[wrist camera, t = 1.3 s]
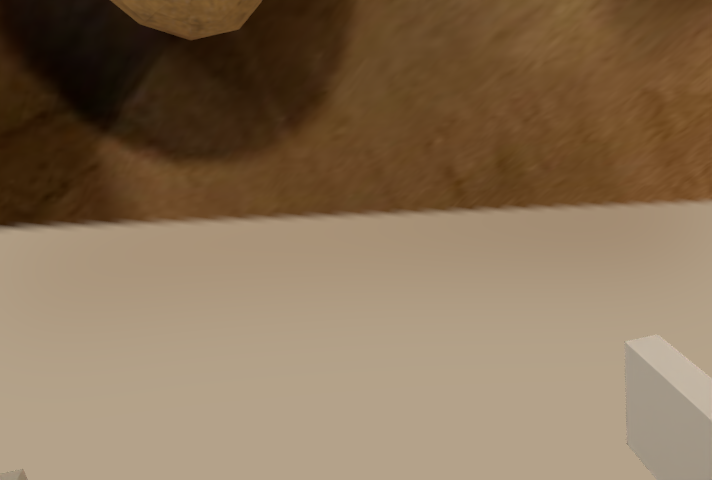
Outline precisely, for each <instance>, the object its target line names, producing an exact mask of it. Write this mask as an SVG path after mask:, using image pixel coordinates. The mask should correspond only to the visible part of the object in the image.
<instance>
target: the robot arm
mask: <svg viewBox="0 0 712 480" xmlns="http://www.w3.org/2000/svg"><path fill="white" fill-rule="evenodd" d="M625 380H626V381H625V382H626V422H627V423H626V424H627V445H628V446H629V447H630V448H631V449H632V451H633V452H634V453H635V454H636V455H637V457H638V458H639V459H640V460H641V461H642V463H643V464H644V465H645V466H646V467H647V469H648V470H649V471H650V472H651V473H652V475H653V476H654V477H655V478H656V479H657V480H712V378H711V377H709V376H708V375H707V374H706V373H704V372H703V371H702V370H701V369H699V368H698V367H697V366H696V365H695V364H693V363H692V362H691V361H690V360H689V359H687V358H686V357H685V356H684V355H682V354H681V353H680V352H679V351H677V350H676V349H675V348H674V347H672V346H671V345H670V344H669V343H668V342H666V341H665V340H664V339H663V338H661V337H660V336H659V335H653V336H649V337H644V338H639V339H634V340H629V341H625ZM0 480H27V477H26V475H25V473H24V470H23V469H21V470H16V471H11V472H7V473H2V474H0Z"/></svg>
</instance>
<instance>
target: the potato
mask: <svg viewBox="0 0 712 480" xmlns="http://www.w3.org/2000/svg"><path fill="white" fill-rule="evenodd" d="M110 1H112V2H113V3H114V4H115V5H117V6H118V7H119V8H120V9H122V10H123V11H124V12H125V13H127V14H128V15H129V16H130V17H131V18H133V19H134V20H135V21H136V22H138V23H139V24H141V25H144V26H147V27H150V28H153V29H157V30H160V31H163V32H166V33H169V34H172V35H175V36H179V37H182V38H185V39H188V40H195V39H199V38H204V37H208V36H212V35H217V34H221V33H226V32H230V31H235V30H239V29H240V28H241V27H242V25H243V24H244V23H245V22H246V20H247V19H248V18H249V17H250V15H251V14H252V13H253V12H254V11H255V9H256V8H257V7H258V6H259V4H260V3H261V2H262V1H263V0H110Z"/></svg>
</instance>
